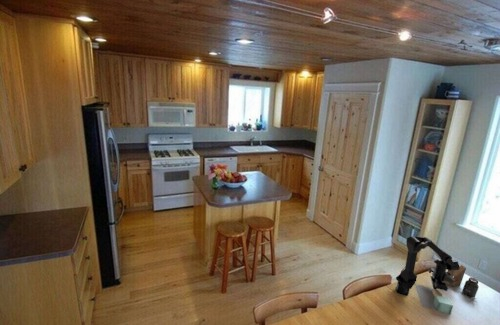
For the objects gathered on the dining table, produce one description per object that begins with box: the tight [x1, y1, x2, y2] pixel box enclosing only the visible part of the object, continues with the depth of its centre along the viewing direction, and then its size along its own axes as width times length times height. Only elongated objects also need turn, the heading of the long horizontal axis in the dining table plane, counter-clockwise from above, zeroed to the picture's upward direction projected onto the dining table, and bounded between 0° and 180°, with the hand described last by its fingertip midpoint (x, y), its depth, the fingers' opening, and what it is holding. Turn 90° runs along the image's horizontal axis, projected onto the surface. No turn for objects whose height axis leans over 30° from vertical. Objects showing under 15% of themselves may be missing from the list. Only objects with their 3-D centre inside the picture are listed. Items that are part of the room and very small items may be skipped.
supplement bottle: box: [461, 276, 480, 299], centre depth 173 cm, size 7×7×12 cm
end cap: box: [434, 295, 454, 315], centre depth 160 cm, size 7×6×6 cm
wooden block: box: [443, 264, 467, 286], centre depth 182 cm, size 4×11×18 cm, turn 97°
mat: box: [413, 283, 437, 311], centre depth 169 cm, size 15×21×1 cm
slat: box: [432, 288, 444, 298], centre depth 165 cm, size 4×14×4 cm, turn 162°
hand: (434, 289), depth 175 cm, fingers closed
